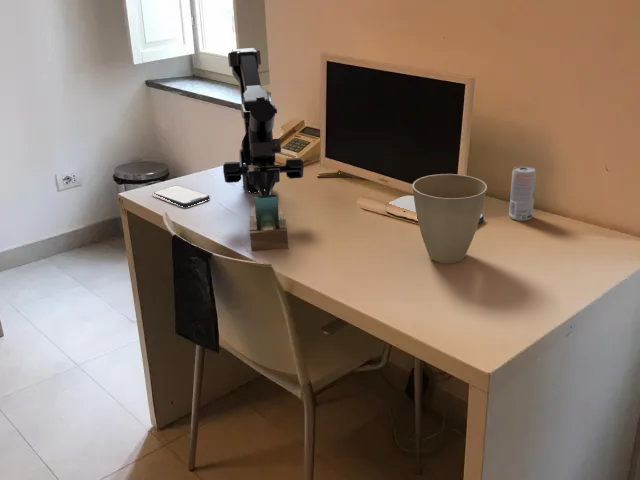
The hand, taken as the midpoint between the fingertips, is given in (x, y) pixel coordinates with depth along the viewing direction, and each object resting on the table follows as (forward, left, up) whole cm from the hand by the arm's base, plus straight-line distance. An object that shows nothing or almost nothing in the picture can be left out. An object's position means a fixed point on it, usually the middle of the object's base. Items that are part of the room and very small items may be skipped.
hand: (266, 202), depth 159 cm
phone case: (+9, -35, -8) cm, 37 cm away
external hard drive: (-37, +15, -8) cm, 41 cm away
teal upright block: (+2, +5, -7) cm, 9 cm away
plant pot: (-24, +35, -7) cm, 44 cm away
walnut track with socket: (+1, +3, -7) cm, 8 cm away
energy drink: (-53, +28, -7) cm, 61 cm away
